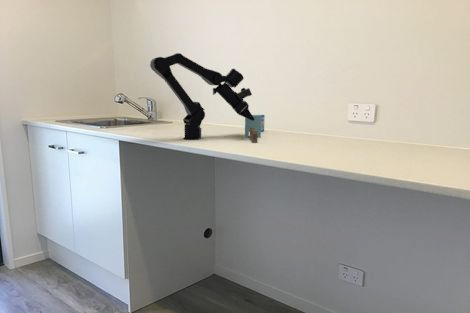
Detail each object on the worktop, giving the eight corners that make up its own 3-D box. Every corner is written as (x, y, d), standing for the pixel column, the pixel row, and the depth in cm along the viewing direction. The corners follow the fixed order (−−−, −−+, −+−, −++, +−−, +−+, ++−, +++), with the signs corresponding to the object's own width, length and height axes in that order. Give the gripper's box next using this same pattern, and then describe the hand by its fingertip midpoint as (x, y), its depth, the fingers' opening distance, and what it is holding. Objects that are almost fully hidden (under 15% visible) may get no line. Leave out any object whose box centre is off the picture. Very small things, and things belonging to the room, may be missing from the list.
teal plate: (245, 137, 170) (245, 115, 168) (244, 136, 173) (245, 114, 171) (260, 137, 171) (261, 115, 169) (259, 136, 174) (260, 114, 172)
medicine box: (255, 132, 186) (256, 115, 185) (248, 132, 189) (248, 115, 187) (264, 131, 193) (264, 114, 191) (257, 130, 195) (257, 114, 194)
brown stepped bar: (257, 142, 155) (257, 130, 154) (252, 142, 155) (252, 130, 154) (254, 138, 167) (254, 127, 166) (249, 138, 167) (249, 127, 166)
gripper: (243, 81, 158) (268, 107, 161) (239, 81, 176) (262, 105, 179) (224, 100, 159) (250, 126, 162) (223, 98, 177) (246, 121, 180)
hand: (252, 119), depth 171 cm, fingers open, 9 cm apart
